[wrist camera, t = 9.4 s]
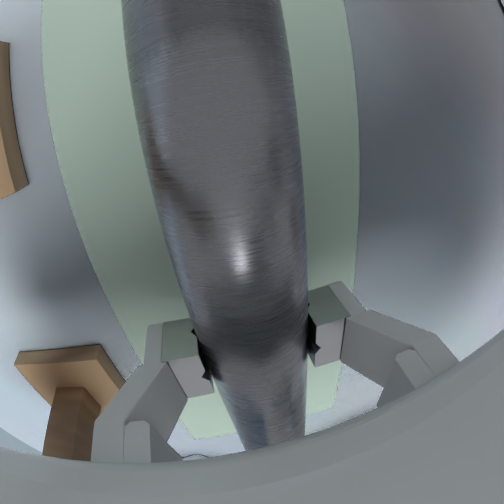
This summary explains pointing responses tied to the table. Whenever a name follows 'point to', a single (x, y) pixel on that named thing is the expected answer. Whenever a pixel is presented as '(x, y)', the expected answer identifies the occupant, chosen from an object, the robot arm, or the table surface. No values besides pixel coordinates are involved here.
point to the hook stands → (58, 360)
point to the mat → (138, 186)
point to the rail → (229, 194)
